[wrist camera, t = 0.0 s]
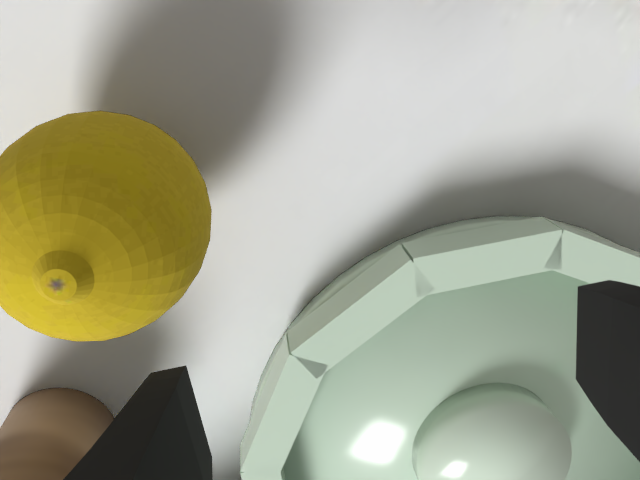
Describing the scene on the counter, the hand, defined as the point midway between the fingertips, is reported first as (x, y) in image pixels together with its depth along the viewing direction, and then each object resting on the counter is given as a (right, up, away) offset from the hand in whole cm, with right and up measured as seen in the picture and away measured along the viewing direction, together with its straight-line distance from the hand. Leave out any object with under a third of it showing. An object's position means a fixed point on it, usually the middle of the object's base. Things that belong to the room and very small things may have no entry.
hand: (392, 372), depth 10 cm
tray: (+5, -6, +14) cm, 16 cm away
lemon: (-7, +4, +8) cm, 12 cm away
